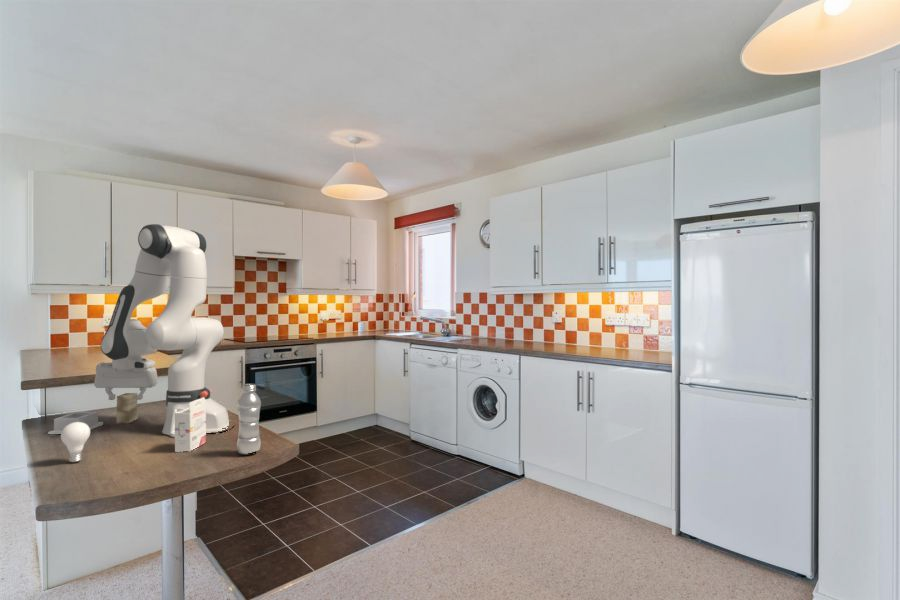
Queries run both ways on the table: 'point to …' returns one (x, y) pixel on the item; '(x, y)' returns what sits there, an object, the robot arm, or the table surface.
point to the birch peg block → (126, 408)
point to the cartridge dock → (84, 417)
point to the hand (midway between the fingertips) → (125, 399)
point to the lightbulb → (75, 439)
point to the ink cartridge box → (190, 426)
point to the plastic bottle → (248, 420)
